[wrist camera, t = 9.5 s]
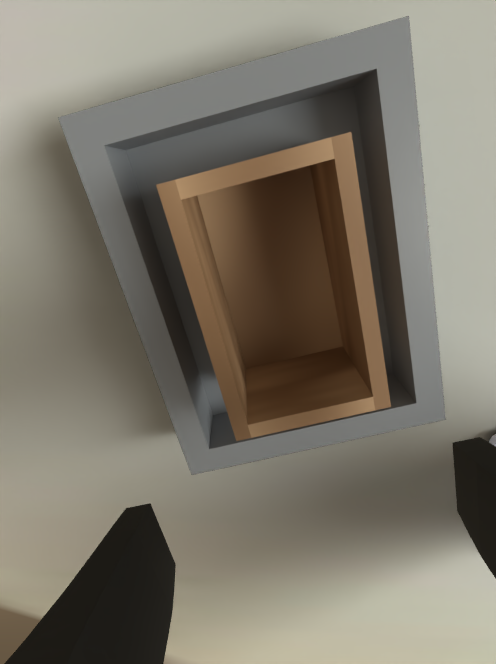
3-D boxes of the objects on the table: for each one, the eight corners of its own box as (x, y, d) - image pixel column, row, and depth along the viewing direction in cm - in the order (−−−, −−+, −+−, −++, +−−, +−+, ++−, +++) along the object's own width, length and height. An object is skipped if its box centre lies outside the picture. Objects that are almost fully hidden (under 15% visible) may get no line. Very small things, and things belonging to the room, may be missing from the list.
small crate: (318, 144, 14) (351, 131, 10) (353, 349, 17) (391, 406, 13) (180, 181, 15) (155, 184, 10) (237, 376, 17) (236, 441, 13)
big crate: (374, 48, 14) (408, 15, 11) (414, 382, 18) (445, 419, 16) (93, 128, 14) (57, 117, 12) (198, 430, 19) (191, 474, 16)
